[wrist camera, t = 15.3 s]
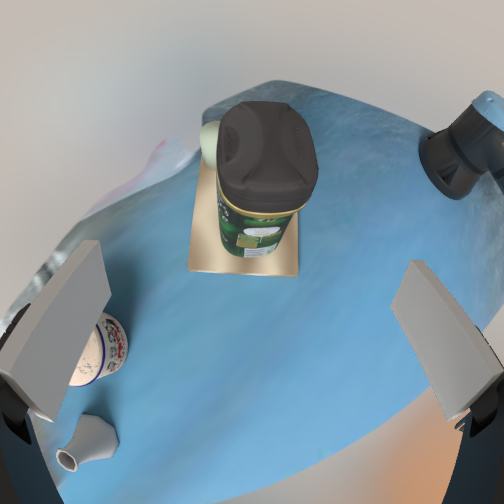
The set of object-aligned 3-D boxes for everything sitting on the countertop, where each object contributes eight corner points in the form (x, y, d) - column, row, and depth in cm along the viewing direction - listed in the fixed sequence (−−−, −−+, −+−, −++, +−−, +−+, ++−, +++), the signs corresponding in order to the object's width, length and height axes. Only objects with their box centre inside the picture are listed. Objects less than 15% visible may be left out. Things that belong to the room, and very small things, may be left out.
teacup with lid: (133, 377, 31) (97, 397, 19) (77, 372, 29) (29, 384, 18) (128, 288, 34) (89, 271, 22) (73, 289, 32) (24, 273, 21)
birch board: (292, 147, 42) (294, 142, 40) (295, 277, 36) (298, 275, 35) (205, 140, 41) (205, 134, 39) (189, 271, 35) (187, 268, 34)
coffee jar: (216, 192, 37) (215, 90, 19) (273, 191, 38) (310, 93, 20) (219, 261, 34) (216, 193, 16) (281, 258, 35) (337, 192, 17)
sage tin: (239, 154, 38) (240, 129, 33) (222, 175, 37) (220, 151, 32) (214, 141, 39) (212, 116, 33) (197, 162, 38) (192, 137, 32)
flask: (77, 406, 28) (41, 423, 18) (121, 424, 28) (92, 451, 19) (76, 444, 26) (44, 467, 16) (118, 462, 26) (93, 493, 17)
